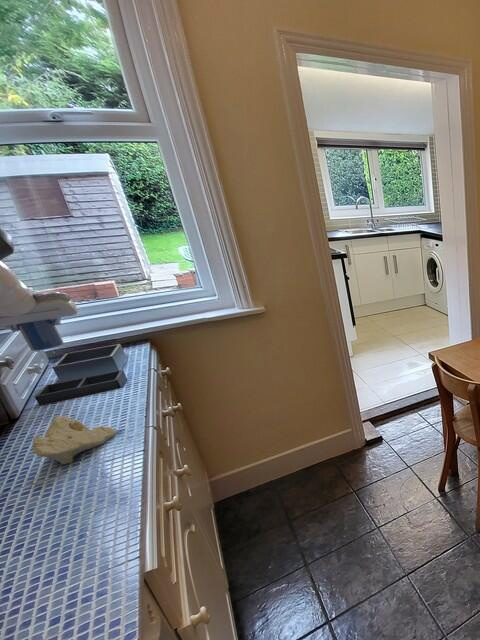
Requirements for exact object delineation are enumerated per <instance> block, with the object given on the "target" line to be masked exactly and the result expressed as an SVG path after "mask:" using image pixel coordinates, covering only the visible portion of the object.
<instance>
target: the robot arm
mask: <svg viewBox="0 0 480 640" xmlns="http://www.w3.org/2000/svg"><path fill="white" fill-rule="evenodd" d="M14 253H15V243H14V239H13V237H12V236H11V234H9V233H8V232H7V231H6V230H4V229H2V228H1V227H0V329H5V330H10V331H11V332H12V333H15V332H20V330H19V328H18V326H17V325H16V324H21V323H27V322H34V321H40V320H47V319H51V323H52V324H53V325H55V326H60V325H62V322H61V319H62V318H67V317H73V316H76V315H77V314H78V312H79V311H78V308H77V304H76V303H75V302H74V301H73V299H71V297H70V296H69V294H68V293H65V292H58V291H52V292H45V293H33V292H32V291H31V289H30V288H29V287H28V286H27V285H26V284H25V283H24V282H23V281H21V280H20V279H19V277H18V276H17V275H16V273H15V272H14V271H13V270H12V269H11V268H10V267H9V266H8V265H7V264H6V263H4V262H3V261H2V260H4V259H5V258H7V257H9V256H11V255H13V254H14Z"/></svg>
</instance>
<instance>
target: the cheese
mask: <svg viewBox="0 0 480 640" xmlns="http://www.w3.org/2000/svg"><path fill="white" fill-rule="evenodd" d="M116 434H117V432H116V429H115V428H112V427H110V426H103V425H100V426H96V427H93V428H92V429H90V428H88V427H87V426H86V425H85V424H84V423H83V422H82V421H80V420H79V419H76V418H70V417H69V416H66V415H65V416H64V415H60V416H59V415H58V416H54V418H53V419H52V420H51V424H50V425H49V427H48V428H47V429H46V431H45V433H44V436H40V434H39V432H35V435H36V436H34V437H33V442H32V450H33V453H34V454H35V455H36V456H37V457H42V458H48V459H53V460H55V461H56V462H57V461H58V462H60V464H61V465H67V464H70V463H72V462H73V461H74V458H75V457H76V456H77V455H78V454H80V453H82V452H84V451H88V450H91V449H95V448H97V447H98V446H101V445H103V444H104V443H105V442H107V441H109V440H110V439H111V438H113V437H114V436H116Z"/></svg>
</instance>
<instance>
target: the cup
mask: <svg viewBox="0 0 480 640" xmlns="http://www.w3.org/2000/svg"><path fill="white" fill-rule="evenodd" d="M16 325H17V326H18V328H19V330H20V331H19V332H20V333H21V335H22V337H23V339H24V341H25V342H26V345H27V346H28V348H29V349H30V351H37V352H38V351H44V350H50V349H54V348H57V347H59V346H63V345H64V343H65V342H64V340H63V338H62V336H61V334H60V333H59V329H57V326H56V325H53V324H52V323H51V319H47V320H40V321H34V322H27V323H21V324H16Z"/></svg>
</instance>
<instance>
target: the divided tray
mask: <svg viewBox="0 0 480 640" xmlns="http://www.w3.org/2000/svg"><path fill="white" fill-rule="evenodd" d="M127 381H128V378H127V375H126V374H125V372H124V369H122V370H119V371H114V372H109V373H104V374H99V375H94V376H89V377H84V378H79V379H74V380H69V381H64V382H60V381H59V382H54V383H50V384H45V385H44V386H43V387H42V388H41V389H40V390H39V392H38V393H37V394H35V396H34V399H35V401H36V402H37V404H38V405H39V407H41V406H47V405H51V404H55V403H60V402H64V401H69V400H73V399H79V398H83V397H87V396H92V395H97V394H102V393H106V392H111V391H116V390H119V389H123V388H124V387H125V385H126V384H127Z"/></svg>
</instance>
